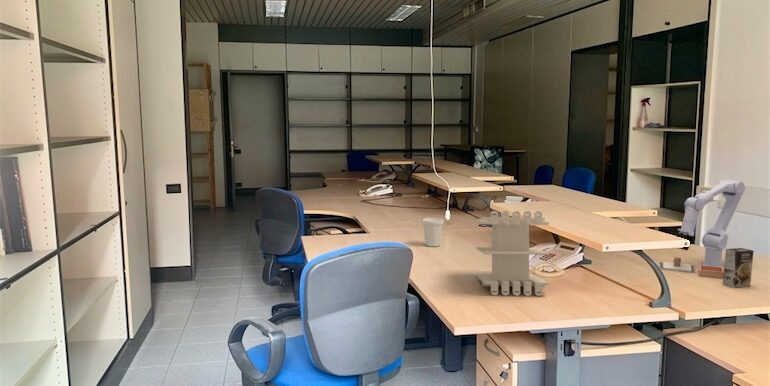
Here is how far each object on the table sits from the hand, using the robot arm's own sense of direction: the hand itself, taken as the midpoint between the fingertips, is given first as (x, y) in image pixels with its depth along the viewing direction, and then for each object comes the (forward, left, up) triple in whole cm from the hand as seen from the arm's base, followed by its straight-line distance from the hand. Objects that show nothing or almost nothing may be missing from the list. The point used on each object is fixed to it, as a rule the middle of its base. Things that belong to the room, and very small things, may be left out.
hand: (682, 249), depth 267 cm
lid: (-3, -2, -10) cm, 10 cm away
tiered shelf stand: (+60, -69, -11) cm, 92 cm away
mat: (-3, -2, -10) cm, 11 cm away
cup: (+4, -128, -10) cm, 128 cm away
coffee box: (+17, +21, -10) cm, 30 cm away
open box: (+5, +12, -10) cm, 17 cm away
